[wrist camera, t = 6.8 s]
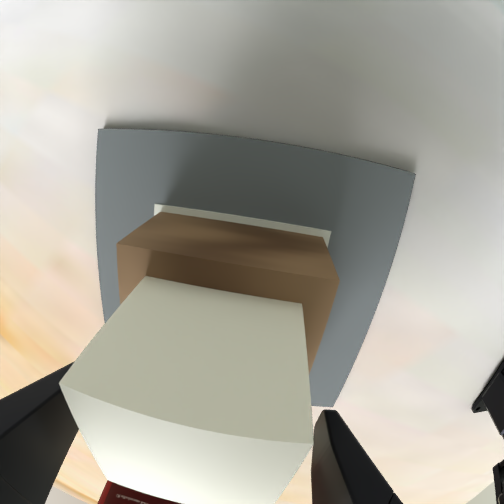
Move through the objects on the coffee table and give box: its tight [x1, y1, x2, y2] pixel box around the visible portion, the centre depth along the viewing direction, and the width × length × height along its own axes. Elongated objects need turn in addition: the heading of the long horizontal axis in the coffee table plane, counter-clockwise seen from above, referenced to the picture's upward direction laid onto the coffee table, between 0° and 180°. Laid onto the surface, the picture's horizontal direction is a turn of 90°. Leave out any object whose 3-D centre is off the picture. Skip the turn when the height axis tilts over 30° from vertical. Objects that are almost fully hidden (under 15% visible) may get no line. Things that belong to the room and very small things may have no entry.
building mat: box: [95, 129, 416, 407], centre depth 14 cm, size 14×14×1 cm
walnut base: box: [116, 212, 340, 373], centre depth 12 cm, size 7×7×4 cm
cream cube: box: [59, 276, 314, 504], centre depth 8 cm, size 5×5×5 cm
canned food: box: [98, 480, 182, 504], centre depth 16 cm, size 8×8×11 cm
